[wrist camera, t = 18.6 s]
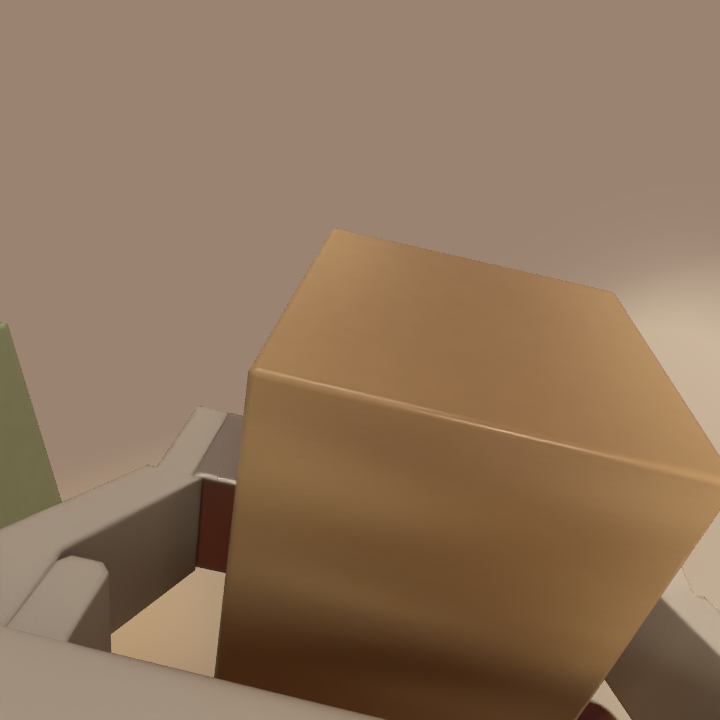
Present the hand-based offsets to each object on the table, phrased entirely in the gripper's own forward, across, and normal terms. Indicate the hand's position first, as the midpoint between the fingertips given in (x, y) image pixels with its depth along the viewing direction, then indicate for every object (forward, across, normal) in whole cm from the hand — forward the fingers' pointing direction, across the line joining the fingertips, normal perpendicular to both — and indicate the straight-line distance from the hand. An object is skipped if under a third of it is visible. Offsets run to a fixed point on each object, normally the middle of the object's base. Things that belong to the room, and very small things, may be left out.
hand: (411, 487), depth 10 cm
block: (-1, 0, +4) cm, 4 cm away
